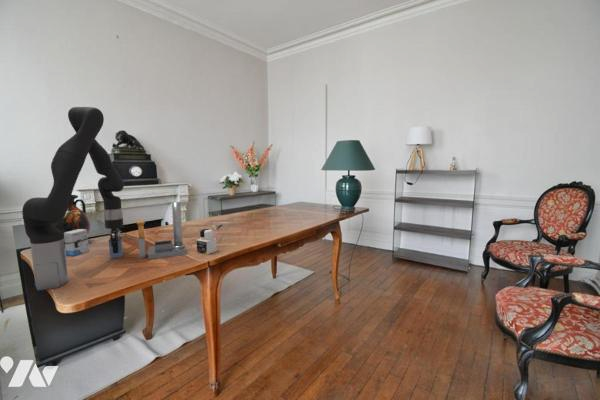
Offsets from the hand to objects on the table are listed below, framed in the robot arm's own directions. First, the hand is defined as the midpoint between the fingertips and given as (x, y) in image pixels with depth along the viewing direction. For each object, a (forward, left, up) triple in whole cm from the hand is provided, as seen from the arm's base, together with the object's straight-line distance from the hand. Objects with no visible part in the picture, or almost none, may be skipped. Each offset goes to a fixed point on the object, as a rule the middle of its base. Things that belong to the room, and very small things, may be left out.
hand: (116, 251), depth 138 cm
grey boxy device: (-14, -41, -3) cm, 43 cm away
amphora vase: (+34, +26, -3) cm, 43 cm away
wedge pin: (-6, -11, +4) cm, 14 cm away
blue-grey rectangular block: (0, 0, -2) cm, 2 cm away
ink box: (+14, +18, -3) cm, 23 cm away
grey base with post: (-6, -20, -2) cm, 21 cm away
